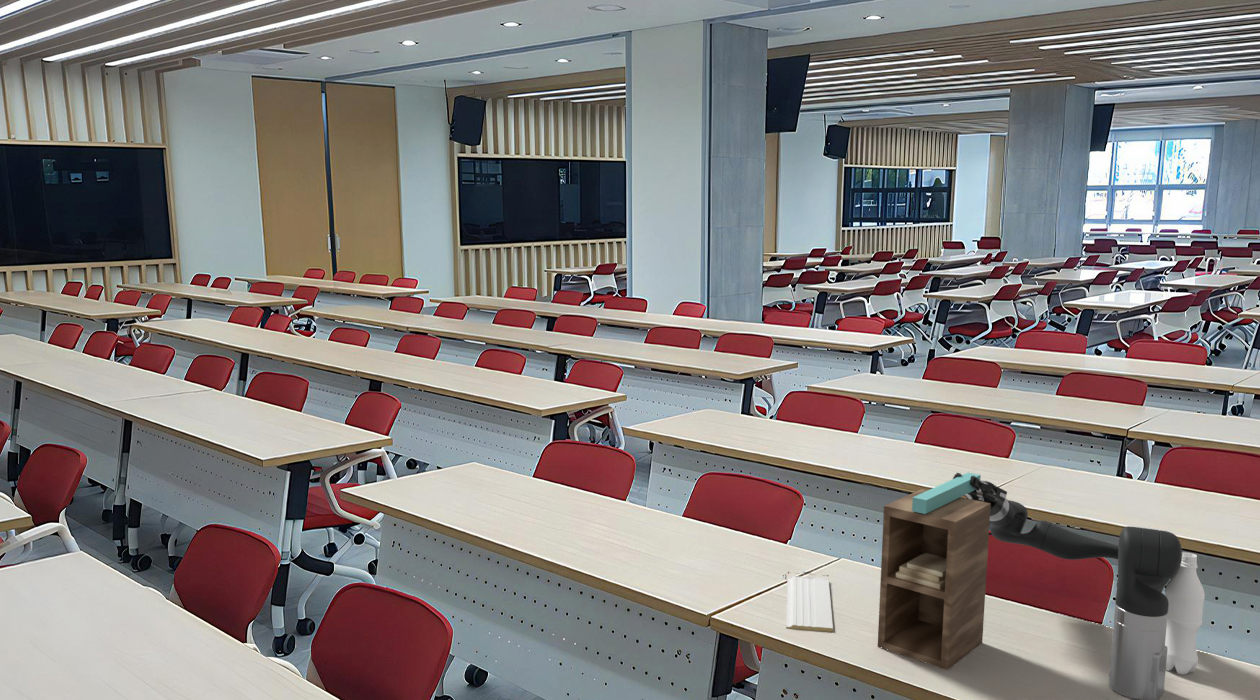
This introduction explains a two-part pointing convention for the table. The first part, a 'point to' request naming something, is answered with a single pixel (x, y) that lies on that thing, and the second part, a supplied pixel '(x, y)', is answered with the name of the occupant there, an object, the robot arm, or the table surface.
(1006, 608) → the table surface
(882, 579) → the rack
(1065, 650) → the table surface
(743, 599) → the table surface
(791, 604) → the baseboard molding
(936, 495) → the rectangular block
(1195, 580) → the water bottle
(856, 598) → the table surface
